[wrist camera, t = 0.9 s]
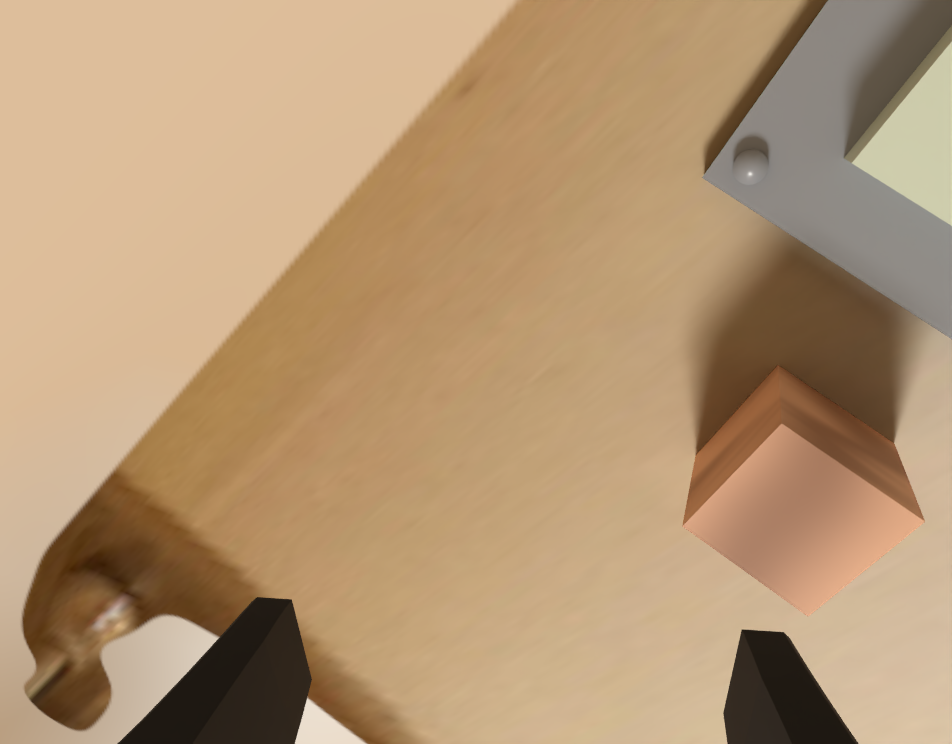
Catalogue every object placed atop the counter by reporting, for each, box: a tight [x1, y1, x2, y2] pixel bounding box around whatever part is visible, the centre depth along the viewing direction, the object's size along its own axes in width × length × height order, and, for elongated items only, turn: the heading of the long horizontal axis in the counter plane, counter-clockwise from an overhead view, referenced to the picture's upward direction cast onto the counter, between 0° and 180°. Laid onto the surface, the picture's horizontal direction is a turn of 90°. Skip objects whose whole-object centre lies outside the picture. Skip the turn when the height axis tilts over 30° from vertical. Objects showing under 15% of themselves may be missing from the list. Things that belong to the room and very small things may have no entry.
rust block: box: [683, 365, 925, 616], centre depth 22 cm, size 4×4×5 cm
